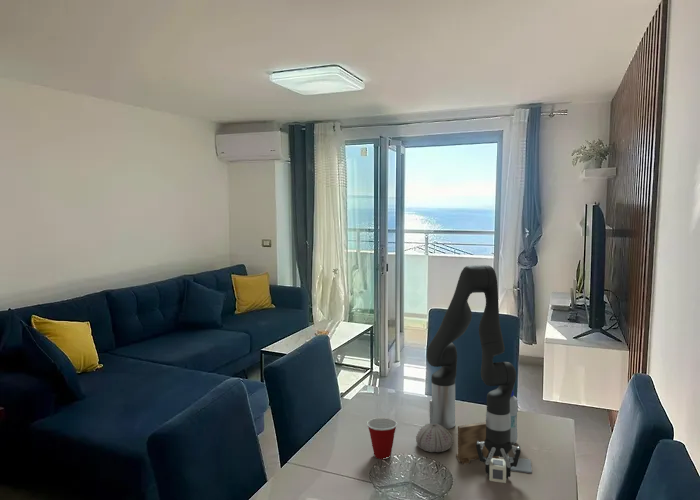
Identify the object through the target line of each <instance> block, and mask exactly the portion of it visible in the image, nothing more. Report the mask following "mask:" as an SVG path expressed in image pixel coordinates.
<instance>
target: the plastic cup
mask: <svg viewBox="0 0 700 500" xmlns="http://www.w3.org/2000/svg"><path fill="white" fill-rule="evenodd" d="M397 426H398V422H397V421H396V420H394V419H392V418H386V417H375V418H371V419H370V420H369V419H368V421H367V422H366V427H368V431H369V435H370V440H371V447H372V451H373V455H374V458H376V459H378V460H384V459H383V458H386V457H389V456H390V457H391V456H392V451H393V444H394V438H395V433H396V430H397V429H396V428H397ZM390 457H389V458H390Z"/></svg>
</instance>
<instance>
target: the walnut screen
mask: <svg viewBox="0 0 700 500" xmlns="http://www.w3.org/2000/svg"><path fill="white" fill-rule="evenodd" d="M485 439H486V421H483V422H476V423H475V422H474V423H469V424H463V425H457V453H456V454H455V455H456V456H455V457H456V458H457V460H458V462H459V463H461V464H462V465H467V464H471V463H470V462H471V461H472V460H479V456H478V452H477V448H476V442H477V441H480V442H484V441H485ZM482 452H483V456H484V457H487V454H488V450H487V448H486V447H485V446H483V449H482ZM492 458H496V459H500V458H499V456H493V457H492Z"/></svg>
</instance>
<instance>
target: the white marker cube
mask: <svg viewBox="0 0 700 500" xmlns="http://www.w3.org/2000/svg"><path fill="white" fill-rule="evenodd" d="M488 477H489V482H496V483H503V484H507V478H506V463H505V461H504V458H498V459H496V458H492V459H491V461H490V474H489V476H488Z"/></svg>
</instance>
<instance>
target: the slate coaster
mask: <svg viewBox="0 0 700 500" xmlns="http://www.w3.org/2000/svg"><path fill="white" fill-rule="evenodd" d="M513 457H514V456H513ZM513 457H512V456H509V459H510V461H511V460H513ZM531 460H532V459H530V458H521V457H519V460H518V463H517V466H516V467H514V466H512V467H511V471H512V472H518V473H520V472H521V473H527V474H533V473H532V472H533V470H532V461H531Z"/></svg>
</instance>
